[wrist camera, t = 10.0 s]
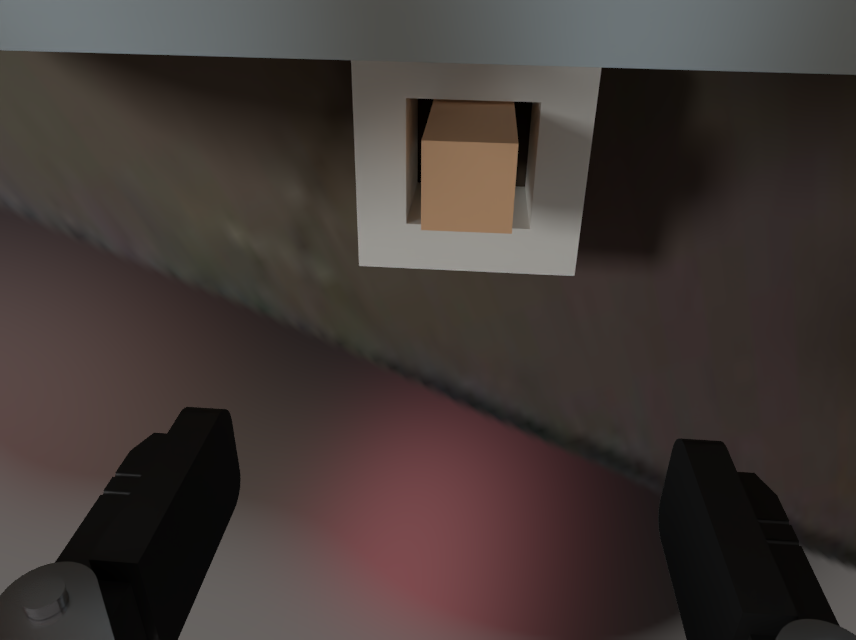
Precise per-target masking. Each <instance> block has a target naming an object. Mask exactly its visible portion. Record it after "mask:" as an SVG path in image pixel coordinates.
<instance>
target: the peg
mask: <svg viewBox="0 0 856 640" xmlns="http://www.w3.org/2000/svg"><path fill="white" fill-rule="evenodd" d="M518 145H519V143H518V133H517V124H516V115H515V106H514V102H511V101H480V100H449V99H434V101H433V104H432V107H431V111H430V114H429V117H428V121H427V124H426V127H425V130H424V134H423V137H422V140H421V230H431V231H455V232H480V233H505V234H512V224H513V211H514V198H515V185H516V172H517V158H518Z"/></svg>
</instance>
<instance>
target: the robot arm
mask: <svg viewBox="0 0 856 640" xmlns="http://www.w3.org/2000/svg"><path fill="white" fill-rule="evenodd" d="M239 490H240V469H239V462H238V456H237V450H236V444H235V438H234V431H233V425H232V419H231V416H230V413H229V411H228V410H226V409H213V408H197V407H186V408H184V409H183V410H182V411H181V412H180V414H179V416H178V417H177V419H176V420H175V422H174V424H173V425H172V427H171V429H170V430H169V432H168V433H167V434H164V433H153V434H152V435H150V436H149V437H148V438H147V439H145V440H144V441H143V442H141V443H140V444H139V445H137V446H136V447H135V448H133V449H132V450H131V451H130V452H129V453H128V455H127V456H126V458H125V459H124V461H123V462H122V464H121V465H120V467H119V468H118V470H117V472H116V475H115V477H112V479H111V480H110V482H109V483H108V485H107V486H106V488H105V489H104V494H103V495H100V496H99V498H98V500H97V501H96V503H95V504H94V506H93V507H92V508H91V510H90V511H89V513H88V514H87V516H86V517H85V519H84V521H83V522H82V523H81V525H80V526H79V528H78V529H77V531H76V532H75V534H74V535H73V537H72V538H71V540H70V541H69V543H68V544H67V546H66V547H65V549H64V550H63V552H62V553H61V554H60V556H59V558H58V559H57V561H56V562H55V563H51V564H47V565H44V566H41V567H38V568H36V569H34V570H31V571H29V572H28V573H26V574H24V575H22V576H21V577H20V578H18V579H17V580H15V581H14V582H13V583H12V584H11V585H10V586H8V587H7V588H6V589H5V591H4V592H3V593H2V594H1V595H0V640H178V638H179V636H180V633H181V631H182V628H183V626H184V624H185V621H186V619H187V617H188V615H189V613H190V610H191V608H192V606H193V603H194V601H195V599H196V596H197V594H198V592H199V589H200V587H201V585H202V583H203V580H204V578H205V576H206V573H207V571H208V569H209V567H210V564H211V562H212V560H213V557H214V555H215V553H216V550H217V548H218V546H219V544H220V541H221V539H222V536H223V534H224V532H225V530H226V527H227V525H228V523H229V521H230V518H231V516H232V514H233V511H234V509H235V506H236V504H237V500H238V496H239ZM658 522H659V532H660V539H661V543H662V547H663V551H664V554H665V558H666V562H667V566H668V570H669V574H670V578H671V581H672V585H673V589H674V593H675V597H676V601H677V604H678V608H679V612H680V616H681V620H682V624H683V628H684V631H685V635H686V639H687V640H856V635H854V634H853V633H851V632H849V631H847V630H846V629H844V628H842V627H840V626H839V624H838V622H837V620H836V618H835V616H834V614H833V612H832V610H831V607H830V605H829V603H828V601H827V599H826V597H825V595H824V593H823V591H822V589H821V587H820V584H819V582H818V580H817V578H816V576H815V574H814V572H813V570H812V568H811V566H810V564H809V561H808V559H807V557H806V555H805V553H804V551H803V549H802V547H801V546H799V540H798V538H797V536H796V534H795V532H794V530H793V528H792V526H791V525H789V519H788V517H787V515H786V513H785V511H784V509H783V507H782V505H781V503H780V501H779V498H778V496H777V495H776V494H775V493H774V492H773V491H772V490H771V489H770V488H769V487H768V486H767V485H766V484H765V483H764V482H763V481H762V480H761V479H760V478H759V477H758V476H757V475H756V474H755V473H746V472H737V471H736V468H735V466H734V464H733V461H732V459H731V457H730V454H729V452H728V450H727V447H726V445H725V444H724V443H723V442H721V441H709V440H693V439H677V440H676V441H675V443H674V445H673V449H672V453H671V457H670V461H669V466H668V470H667V474H666V478H665V482H664V486H663V490H662V495H661V499H660V504H659V515H658Z"/></svg>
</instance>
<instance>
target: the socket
mask: <svg viewBox="0 0 856 640" xmlns="http://www.w3.org/2000/svg"><path fill="white" fill-rule="evenodd" d="M601 68H602V67H568V66H533V65H498V64H463V63H429V62H394V61H359V60H351V72H352V97H353V122H354V147H355V173H356V198H357V223H358V248H359V266H372V267H394V268H415V269H437V270H458V271H479V272H501V273H522V274H543V275H565V276H574V275H575V267H576V260H577V252H578V244H579V237H580V229H581V221H582V214H583V206H584V198H585V191H586V183H587V175H588V168H589V160H590V153H591V145H592V137H593V130H594V122H595V114H596V107H597V99H598V91H599V84H600V76H601ZM418 99H449V100H480V101H511V102H532V112H531V124H530V136H529V147H528V159H527V171H526V182H525V187H519V186H515V198H514V211H513V224H512V234H505V233H480V232H455V231H431V230H421V183H418Z"/></svg>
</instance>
